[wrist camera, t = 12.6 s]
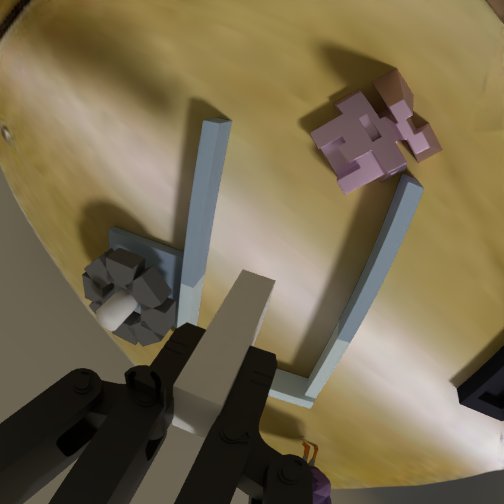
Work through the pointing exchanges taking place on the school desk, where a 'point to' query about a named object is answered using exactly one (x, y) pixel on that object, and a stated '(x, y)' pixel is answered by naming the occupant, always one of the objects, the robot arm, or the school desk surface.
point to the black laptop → (486, 388)
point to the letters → (373, 135)
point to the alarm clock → (497, 8)
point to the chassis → (195, 257)
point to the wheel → (140, 287)
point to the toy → (318, 479)
